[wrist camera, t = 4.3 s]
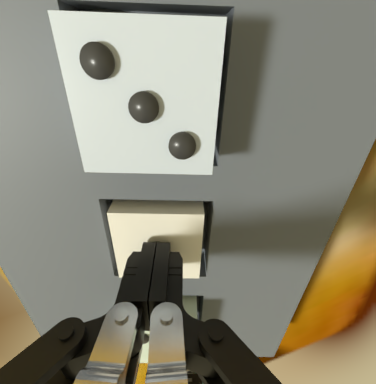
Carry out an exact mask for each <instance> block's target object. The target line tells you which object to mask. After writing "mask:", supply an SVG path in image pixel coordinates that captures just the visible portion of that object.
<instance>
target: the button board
mask: <svg viewBox="0 0 376 384" xmlns="http://www.w3.org/2000/svg"><path fill="white" fill-rule="evenodd" d="M47 10H59V11H85V12H111V13H138V14H164V15H190V16H216V17H227V23H226V33H225V44H224V54H223V65H222V76H221V86H220V97H219V107H218V118H217V129H216V139H215V150H214V161H213V171H212V175H191V174H144V173H97V172H84V168H83V163H82V159H81V155H80V150H79V146H78V142H77V137H76V133H75V129H74V124H73V120H72V115H71V111H70V107H69V102H68V98H67V94H66V89H65V85H64V80H63V76H62V72H61V67H60V63H59V59H58V54H57V50H56V46H55V41H54V37H53V32H52V28H51V24H50V19H49V15H48V11H47ZM375 139H376V0H0V266H1V268H2V270H3V272H4V273H5V275H6V277H7V278H8V280H9V282H10V284H11V285H12V287H13V289H14V291H15V292H16V294H17V296H18V297H19V299H20V301H21V303H22V304H23V306H24V308H25V310H26V311H27V313H28V315H29V316H30V318H31V320H32V321H33V323H34V325H35V327H36V328H37V330H38V332H39V334H40V335H41V336H42V335H44V334H45V333H46V332H47V331H49V330H50V329H51V328H52V327H54V326H55V325H56V324H57V323H59V322H60V321H62V320H64V319H66V318H70V317H77V318H80V319H81V320H82V321H83V322H87V321H90V320H93V319H96V318H99V317H101V316H103V315H105V314H106V313H107V312H108V311H109V309H110V308H111V307H113V306H114V304H115V301H116V298H117V294H118V290H119V287H120V283H121V280H122V278H119V274H118V269H117V264H116V258H115V253H114V248H113V243H112V238H111V233H110V227H109V222H108V217H107V211H108V209H109V207H110V205H111V203H112V201H113V199H124V200H178V201H203V206H204V214H205V216H204V228H203V240H202V252H201V264H200V276H199V278H183V295H191V296H196V298H197V319H198V320H201V321H203V322H205V321H206V320H209V319H219V320H222V321H224V322H225V323H226V324H227V325H228V326H229V327H230V328H231V329H232V330H233V331H234V332H235V333H236V335H237V336H238V337H239V338H240V339H241V340H242V341H243V342H244V343H245V344H246V345H247V346H248V348H249V349H250V350H251V351H252V352H253V353H254V354H255V355H256V356H257V357H274V355H275V353H276V351H277V349H278V347H279V345H280V342H281V340H282V338H283V336H284V334H285V332H286V330H287V327H288V325H289V323H290V321H291V319H292V317H293V315H294V313H295V310H296V308H297V306H298V304H299V302H300V300H301V298H302V295H303V293H304V291H305V289H306V287H307V285H308V283H309V280H310V278H311V276H312V274H313V272H314V270H315V268H316V265H317V263H318V261H319V259H320V257H321V255H322V253H323V250H324V248H325V246H326V244H327V242H328V240H329V238H330V235H331V233H332V231H333V229H334V227H335V225H336V223H337V220H338V218H339V216H340V214H341V212H342V210H343V208H344V205H345V203H346V201H347V199H348V197H349V195H350V193H351V190H352V188H353V186H354V184H355V182H356V180H357V178H358V175H359V173H360V171H361V169H362V167H363V165H364V163H365V160H366V158H367V156H368V154H369V152H370V150H371V148H372V146H373V143H374V141H375Z"/></svg>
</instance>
